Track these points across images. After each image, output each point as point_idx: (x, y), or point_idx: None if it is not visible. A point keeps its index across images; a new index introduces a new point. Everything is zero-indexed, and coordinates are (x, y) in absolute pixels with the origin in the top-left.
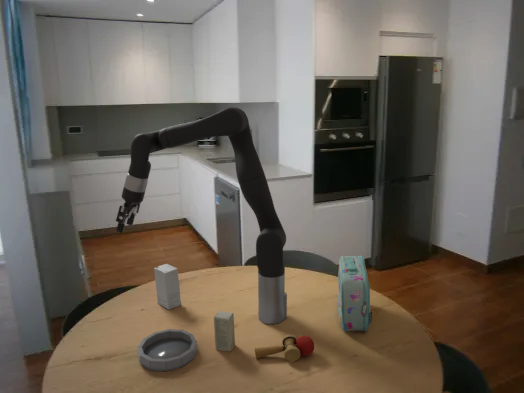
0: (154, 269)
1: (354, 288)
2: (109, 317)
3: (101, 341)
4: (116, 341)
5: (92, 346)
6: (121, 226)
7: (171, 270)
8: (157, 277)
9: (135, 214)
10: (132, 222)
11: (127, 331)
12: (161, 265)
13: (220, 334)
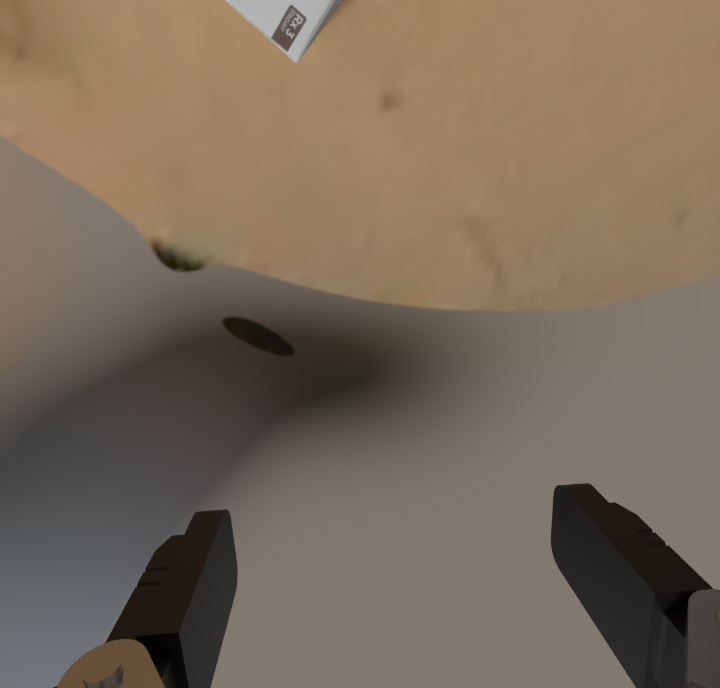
0: (303, 54)
1: None
2: (469, 227)
3: (663, 163)
4: (678, 94)
5: (693, 180)
6: (686, 568)
7: None
8: (332, 12)
9: (120, 683)
10: (215, 541)
11: (600, 81)
12: (233, 1)
13: None
